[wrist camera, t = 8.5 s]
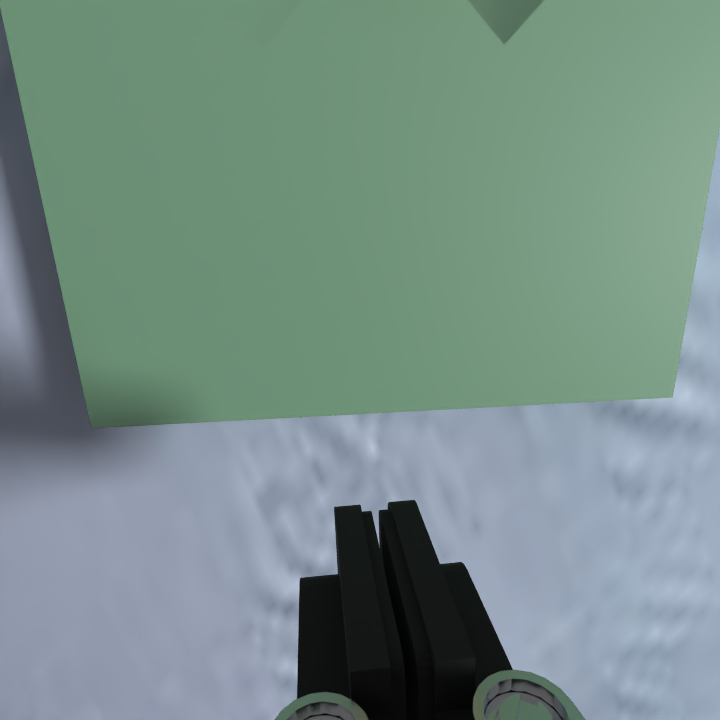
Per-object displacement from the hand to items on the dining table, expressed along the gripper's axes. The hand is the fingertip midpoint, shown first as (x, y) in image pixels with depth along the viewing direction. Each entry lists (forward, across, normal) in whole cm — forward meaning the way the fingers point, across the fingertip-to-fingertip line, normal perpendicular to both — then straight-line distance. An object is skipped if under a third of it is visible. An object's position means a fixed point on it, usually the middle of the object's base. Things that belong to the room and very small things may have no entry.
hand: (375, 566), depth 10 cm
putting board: (+7, -1, -11) cm, 13 cm away
